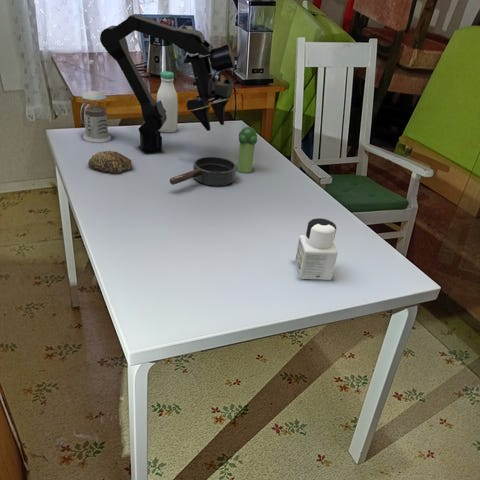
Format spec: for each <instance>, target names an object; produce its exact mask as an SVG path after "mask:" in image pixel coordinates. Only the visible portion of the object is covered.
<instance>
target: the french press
mask: <svg viewBox="0 0 480 480" xmlns="http://www.w3.org/2000/svg"><path fill="white" fill-rule="evenodd" d="M88 65H90V66H91V67H93V65H95V60H93V59H89V60H88ZM93 73H94V71H93V70H91V78H92V81H94V74H93ZM94 86H95V85H94V83H92V90H90V91H86V92H84V93H83V94H81V98H82V99H83V100H84V101H89V102H93V104H94V105H90V103H87V105H86V102H84V103H82V105H81V106H80V107H81V108H80V113H79V114H80V120H81V123H82V124H83V125H84V132H85V133H84V134H83V135H82V139H83V140H84V141H87V142H90V143H91V142H92V143H104V142H105V143H106V142H108V141H109V142H110V140H112V136H111V135H110V133H109V129H108V128H109V125H108V113H107V112H106V111H107V109H106V108H105V107H104V106H101V105H96V102H101V101H105V100H106V99H107V96H106V95H105V94H104V93H103V92H100V91H97V90H95V87H94ZM83 106H85V107H84V109H83ZM83 110H84V112H83V119H82V111H83Z"/></svg>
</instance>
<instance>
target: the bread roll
mask: <svg viewBox="0 0 480 480" xmlns="http://www.w3.org/2000/svg"><path fill="white" fill-rule="evenodd" d="M87 165H88V167H89V168H91V169H92V170H94V171H97V172H101V173H107V174H114V175H116V174H120V173H123V172H124V171H126V170H127V171H131V170H133V165H132V159H131V158H129V157H127V156H125V155H124V154H122V153H121V152H118V151H113V150H105V151H104V150H103V151H98V152H96V153H95V154H93V155H92V156H91V157H90V159H89V160H88V163H87Z"/></svg>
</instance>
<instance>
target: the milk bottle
mask: <svg viewBox="0 0 480 480" xmlns="http://www.w3.org/2000/svg"><path fill="white" fill-rule="evenodd" d="M174 78H175V74H174V72H172V71H166V70H165V71H161V72H160V80H161V82H160V86H159V88H158V90H157V94H156V102H158V101H160V100H161V102H162V105H163V107H164V109H165V110H166V111H167V112H166V116H167V118H166V122H165V123H164V125H163V126H162V127H161V129H159V130H158V131H159V132H161V133H175V132H177V131H178V115H179V114H178V109H179V107H178V106H179V105H178V104H179V102H178V101H179V100H178V94H177V90H176V87H175V85H174V80H175V79H174Z"/></svg>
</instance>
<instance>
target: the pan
mask: <svg viewBox="0 0 480 480" xmlns="http://www.w3.org/2000/svg"><path fill="white" fill-rule="evenodd" d="M196 169H201V170H202V175H200V176H197V177H194V178H193V179H194V180H196V181H197V182H198V183H201V184H203V185H206V186H213V187H221V186H222V187H224V186H228V185H229V184H233V183H234V182H235V181H236V175H237V163H235V162H234V161H233V160H231V159H228V158H226V157H220V156H202V157H199V158H196V159H195V160H194V162H193V170H196ZM193 170H192V171H193Z"/></svg>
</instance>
